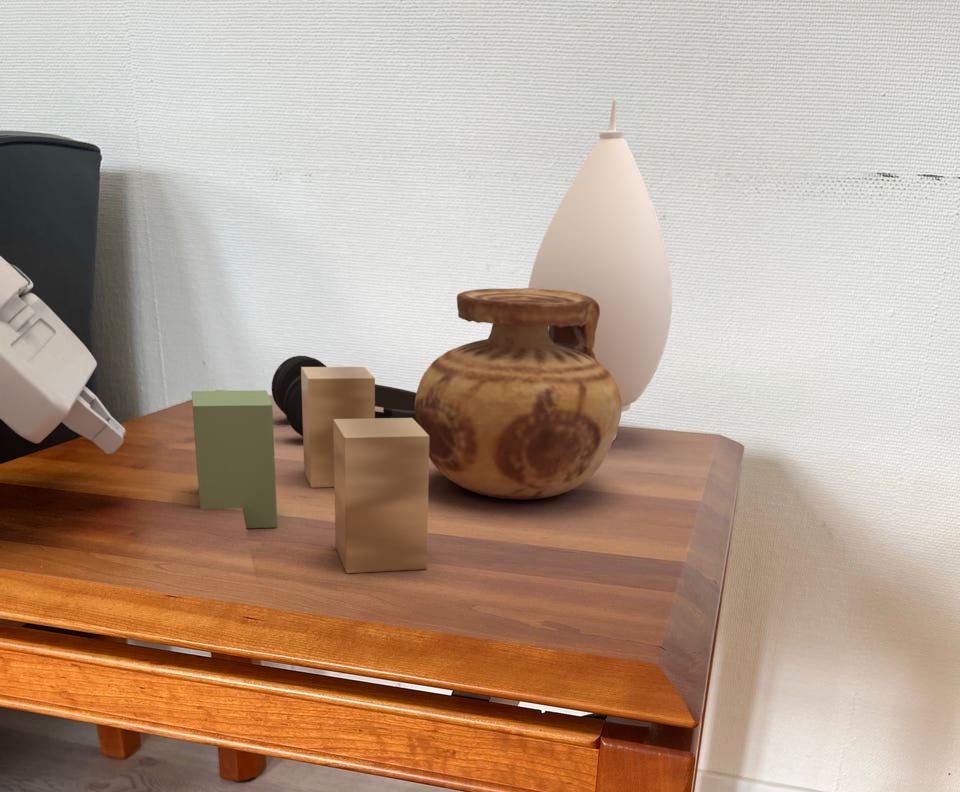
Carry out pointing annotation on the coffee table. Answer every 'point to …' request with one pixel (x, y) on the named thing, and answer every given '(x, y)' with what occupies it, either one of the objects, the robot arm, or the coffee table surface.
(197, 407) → the green block
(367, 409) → the maple block far
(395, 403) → the headphones
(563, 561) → the coffee table surface
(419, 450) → the maple block near
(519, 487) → the clay pot
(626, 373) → the lamp
